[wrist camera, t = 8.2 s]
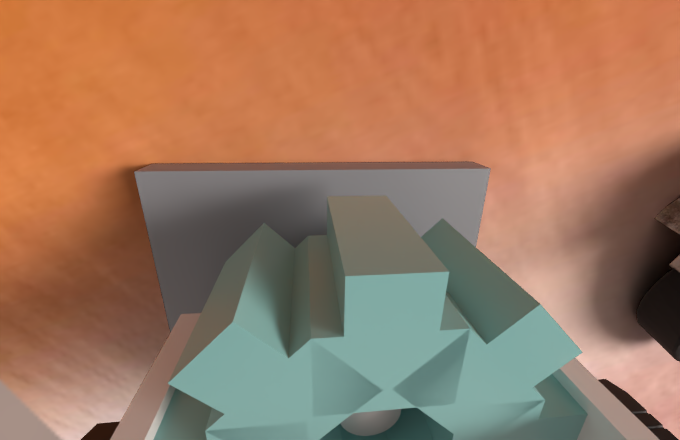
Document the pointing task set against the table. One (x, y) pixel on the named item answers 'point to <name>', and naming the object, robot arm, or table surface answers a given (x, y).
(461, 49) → the table surface
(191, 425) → the teal gear
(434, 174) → the gear board
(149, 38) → the table surface
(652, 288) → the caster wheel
